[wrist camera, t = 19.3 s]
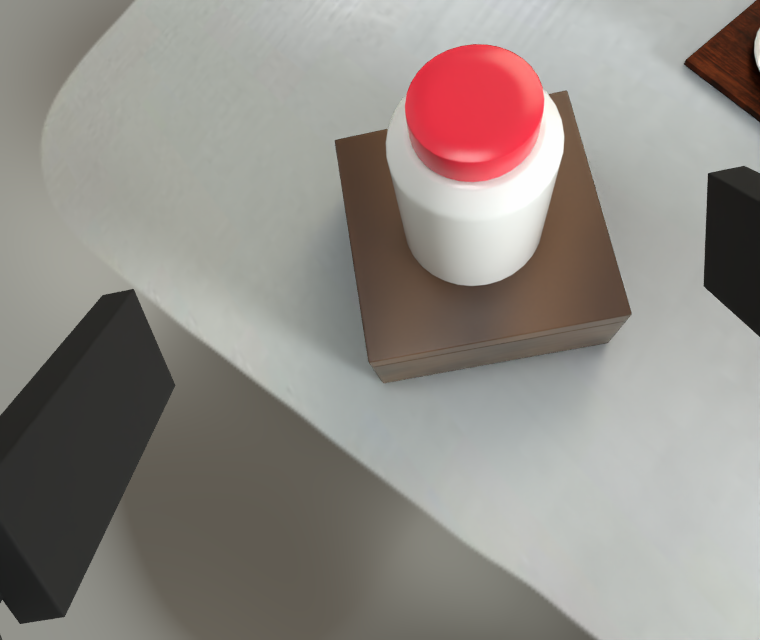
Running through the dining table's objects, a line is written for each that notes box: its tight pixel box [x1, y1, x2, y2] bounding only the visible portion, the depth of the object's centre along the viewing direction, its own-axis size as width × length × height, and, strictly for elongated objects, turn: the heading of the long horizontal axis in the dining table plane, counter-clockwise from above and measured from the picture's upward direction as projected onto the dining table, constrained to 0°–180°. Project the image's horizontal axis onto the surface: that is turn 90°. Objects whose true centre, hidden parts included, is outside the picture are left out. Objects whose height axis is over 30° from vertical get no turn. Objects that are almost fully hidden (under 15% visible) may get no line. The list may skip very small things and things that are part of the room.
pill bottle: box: [386, 44, 564, 286], centre depth 30 cm, size 8×8×11 cm
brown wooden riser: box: [335, 91, 632, 383], centre depth 38 cm, size 14×14×6 cm
